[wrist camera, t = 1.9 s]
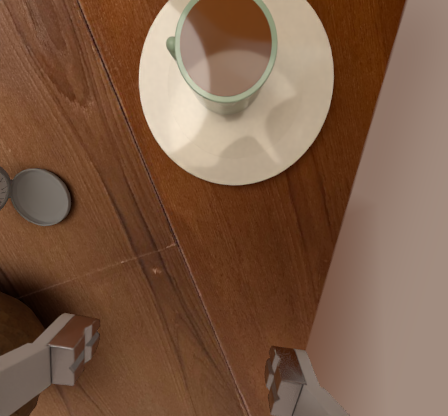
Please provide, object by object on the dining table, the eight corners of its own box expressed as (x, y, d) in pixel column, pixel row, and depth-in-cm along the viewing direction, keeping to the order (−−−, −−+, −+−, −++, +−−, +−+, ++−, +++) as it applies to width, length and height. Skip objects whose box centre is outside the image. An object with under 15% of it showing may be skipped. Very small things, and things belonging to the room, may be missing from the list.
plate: (346, 8, 21) (361, -10, 19) (297, 194, 26) (304, 199, 23) (155, -29, 21) (146, -52, 18) (141, 167, 25) (132, 169, 23)
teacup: (271, 39, 20) (289, -7, 14) (255, 121, 21) (265, 110, 16) (184, 22, 19) (165, -31, 14) (175, 106, 21) (155, 90, 15)
